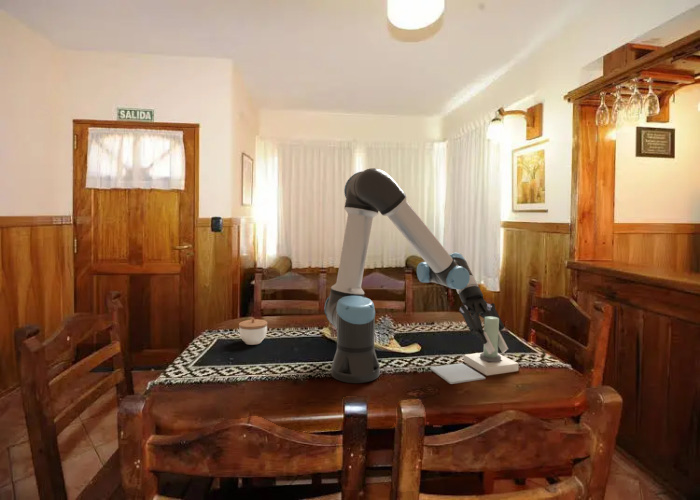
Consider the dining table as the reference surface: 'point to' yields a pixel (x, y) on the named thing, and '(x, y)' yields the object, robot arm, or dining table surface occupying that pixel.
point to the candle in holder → (491, 339)
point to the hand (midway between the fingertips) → (498, 351)
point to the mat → (457, 373)
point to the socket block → (491, 364)
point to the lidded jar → (253, 331)
